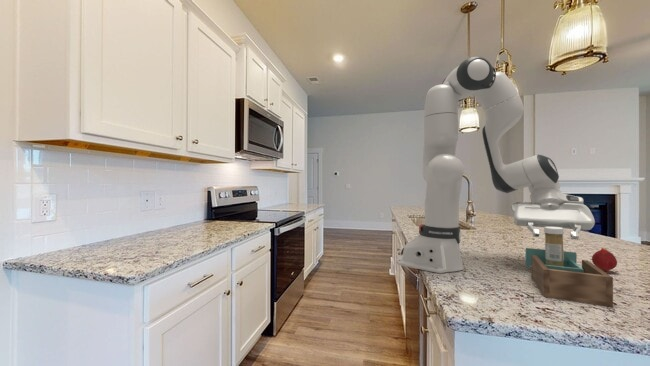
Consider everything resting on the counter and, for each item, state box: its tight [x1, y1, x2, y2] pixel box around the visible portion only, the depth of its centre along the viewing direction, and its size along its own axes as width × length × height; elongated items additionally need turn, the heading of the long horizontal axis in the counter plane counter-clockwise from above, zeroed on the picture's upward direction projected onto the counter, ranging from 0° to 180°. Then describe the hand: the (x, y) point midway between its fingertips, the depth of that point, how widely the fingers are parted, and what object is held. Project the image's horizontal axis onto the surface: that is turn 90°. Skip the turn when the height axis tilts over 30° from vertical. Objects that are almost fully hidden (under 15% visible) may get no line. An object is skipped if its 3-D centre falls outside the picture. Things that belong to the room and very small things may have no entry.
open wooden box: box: [531, 255, 614, 308], centre depth 75 cm, size 13×16×7 cm
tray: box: [525, 247, 584, 273], centre depth 85 cm, size 13×14×6 cm
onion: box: [591, 246, 618, 273], centre depth 90 cm, size 6×6×8 cm
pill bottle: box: [543, 227, 565, 267], centre depth 85 cm, size 5×5×13 cm
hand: (555, 237), depth 85 cm, fingers open, 8 cm apart
